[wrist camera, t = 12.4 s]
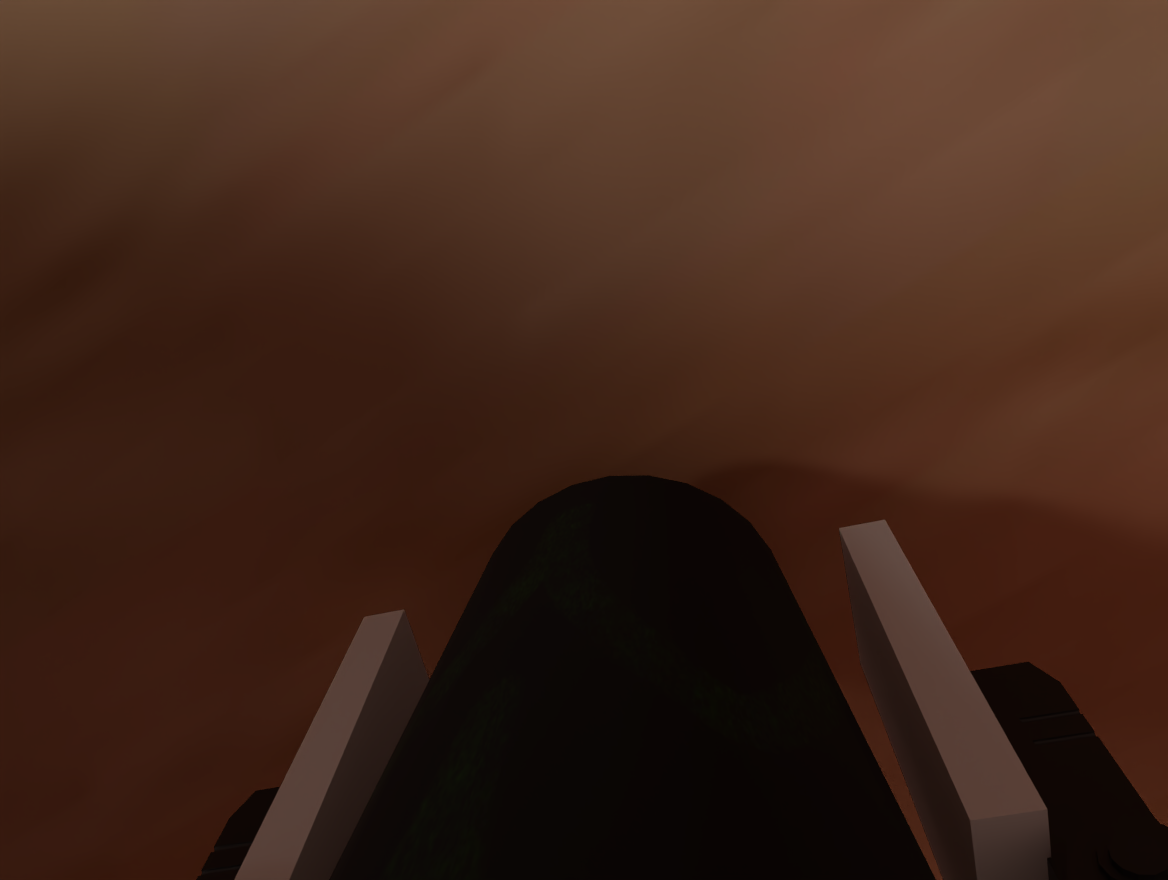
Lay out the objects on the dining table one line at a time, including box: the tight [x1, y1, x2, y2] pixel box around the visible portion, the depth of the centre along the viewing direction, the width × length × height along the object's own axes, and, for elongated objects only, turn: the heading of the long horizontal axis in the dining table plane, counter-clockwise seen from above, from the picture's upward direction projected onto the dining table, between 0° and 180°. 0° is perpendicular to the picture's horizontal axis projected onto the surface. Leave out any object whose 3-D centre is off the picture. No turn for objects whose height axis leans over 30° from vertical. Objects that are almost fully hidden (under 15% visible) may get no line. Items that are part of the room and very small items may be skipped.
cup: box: [329, 475, 936, 880], centre depth 11 cm, size 8×8×12 cm
